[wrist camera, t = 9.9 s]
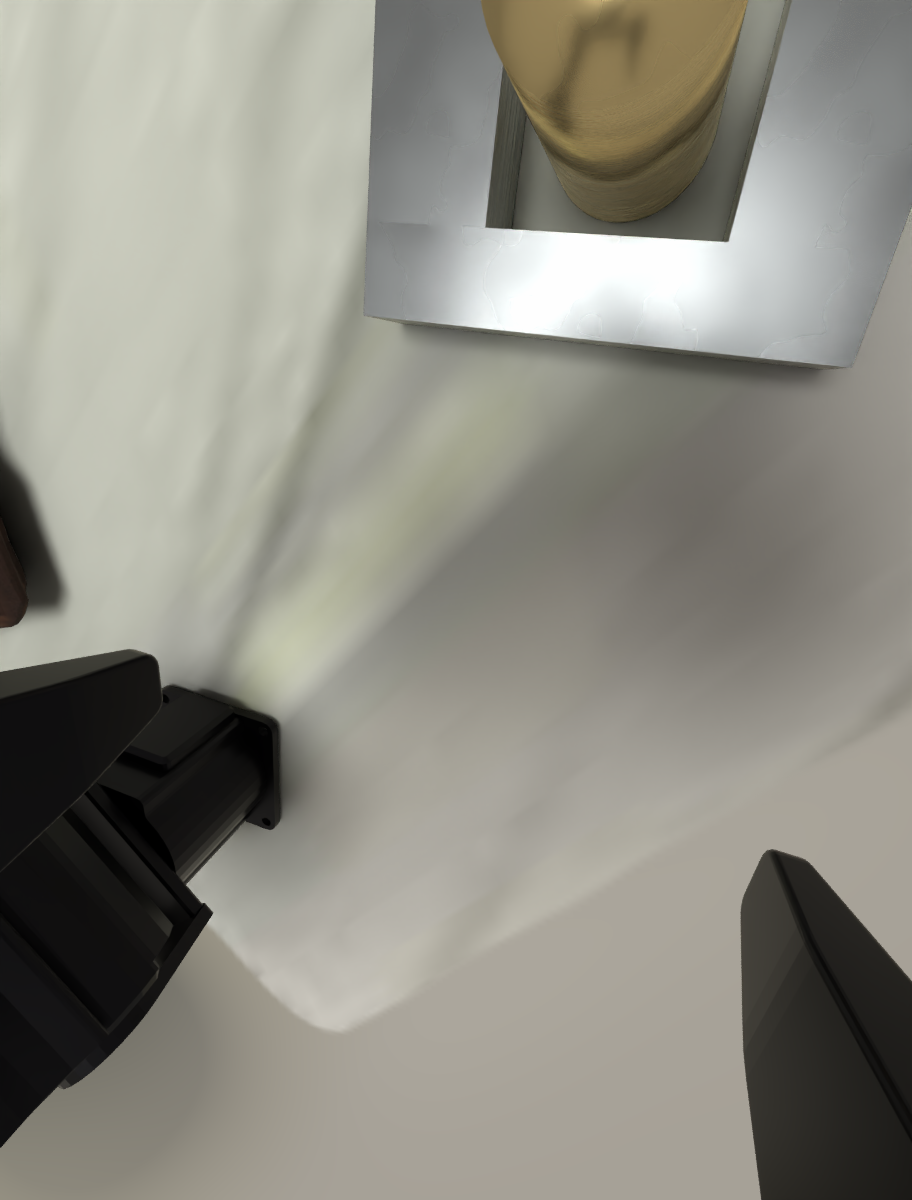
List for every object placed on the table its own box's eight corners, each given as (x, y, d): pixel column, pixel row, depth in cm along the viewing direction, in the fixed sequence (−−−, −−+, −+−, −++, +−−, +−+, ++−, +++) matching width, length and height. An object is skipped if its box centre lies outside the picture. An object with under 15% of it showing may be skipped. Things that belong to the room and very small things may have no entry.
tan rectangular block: (693, 226, 14) (721, 110, 8) (541, 218, 15) (463, 109, 9) (742, 20, 13) (825, -321, 6) (569, 26, 14) (498, -264, 8)
